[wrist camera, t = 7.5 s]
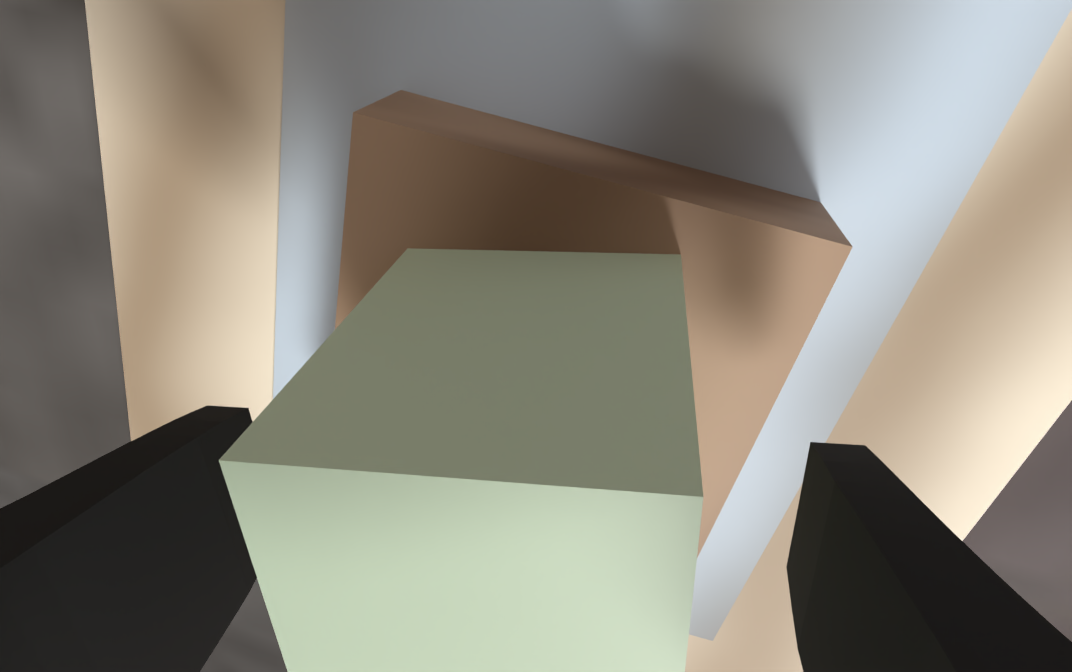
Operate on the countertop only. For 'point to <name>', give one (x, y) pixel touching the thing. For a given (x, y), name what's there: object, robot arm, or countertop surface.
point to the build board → (224, 257)
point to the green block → (484, 472)
